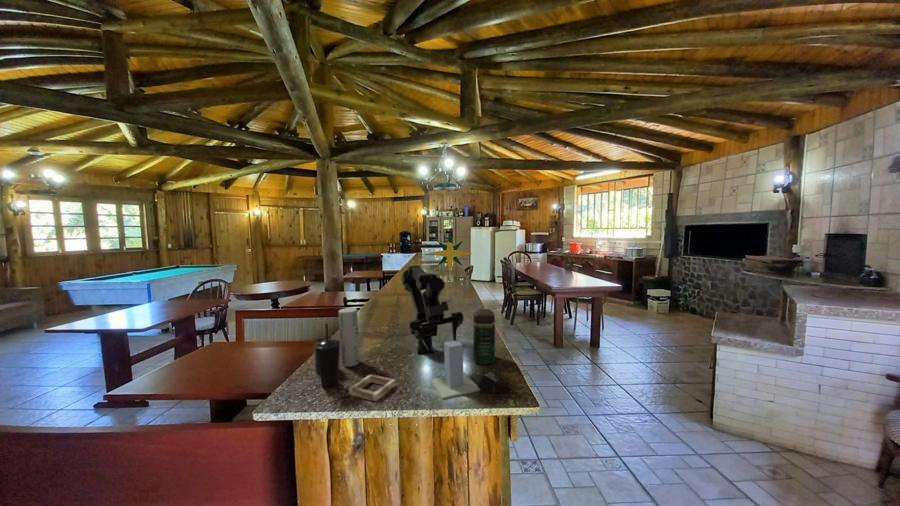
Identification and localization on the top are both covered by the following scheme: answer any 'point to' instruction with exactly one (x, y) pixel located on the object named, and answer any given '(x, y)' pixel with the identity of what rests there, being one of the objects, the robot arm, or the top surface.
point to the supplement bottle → (315, 350)
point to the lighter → (493, 384)
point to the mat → (447, 392)
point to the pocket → (374, 396)
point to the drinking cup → (328, 360)
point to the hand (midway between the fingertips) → (441, 346)
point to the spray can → (349, 336)
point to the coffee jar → (484, 336)
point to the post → (453, 363)
